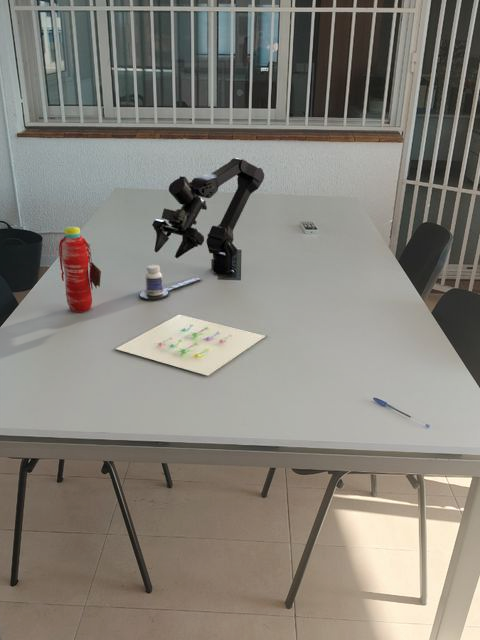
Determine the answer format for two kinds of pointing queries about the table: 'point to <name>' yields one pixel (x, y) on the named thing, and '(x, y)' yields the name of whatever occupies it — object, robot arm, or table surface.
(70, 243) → the water bottle
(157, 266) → the pill bottle
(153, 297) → the spoon
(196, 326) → the printed paper
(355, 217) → the table surface
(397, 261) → the table surface
